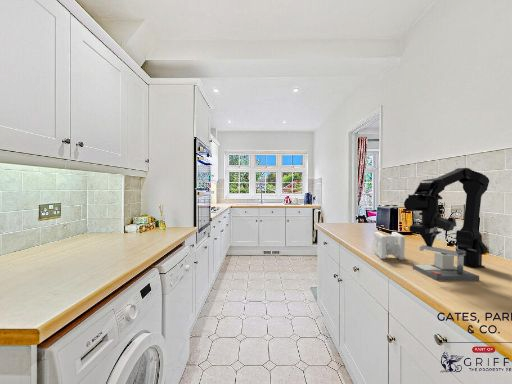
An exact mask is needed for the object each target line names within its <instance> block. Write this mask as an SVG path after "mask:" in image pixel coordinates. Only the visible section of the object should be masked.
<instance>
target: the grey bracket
mask: <svg viewBox="0 0 512 384" xmlns="http://www.w3.org/2000/svg"><path fill="white" fill-rule="evenodd" d="M424 250H426V251H431V252H434V253H445V254H449V255H454V257H456V259H457V261H456V262H457V263H456V264H457V265H456V267H457V273H458V274H463V270H464V265H463V262H464V254H465V253H466V251H464V250H459V249H455V250H451V249H446V248H441V247H437V246H436V247H435V246H432V247H431V246H427V245H426V244H423V245H421V246H419V251H421V252H422V251H424Z"/></svg>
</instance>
